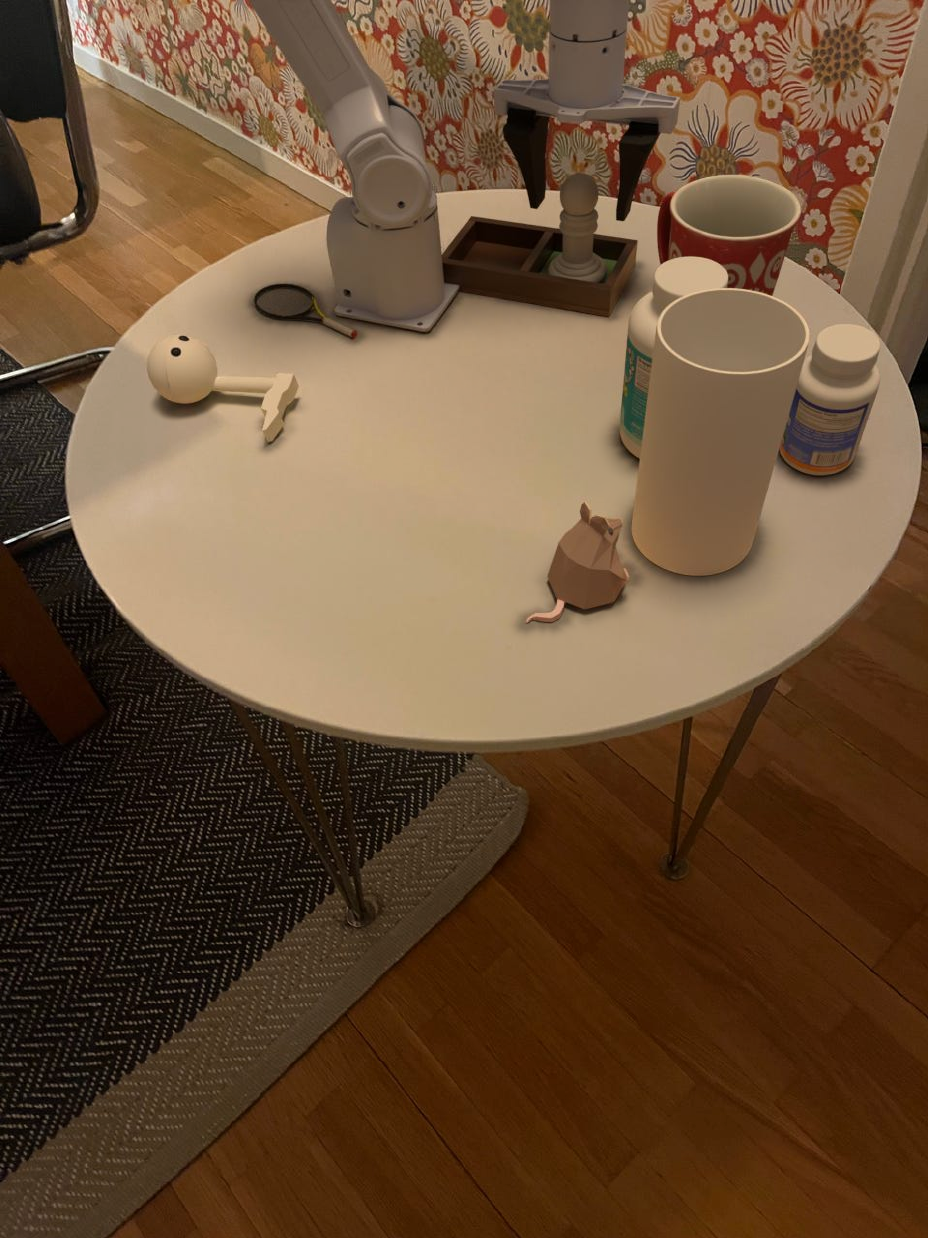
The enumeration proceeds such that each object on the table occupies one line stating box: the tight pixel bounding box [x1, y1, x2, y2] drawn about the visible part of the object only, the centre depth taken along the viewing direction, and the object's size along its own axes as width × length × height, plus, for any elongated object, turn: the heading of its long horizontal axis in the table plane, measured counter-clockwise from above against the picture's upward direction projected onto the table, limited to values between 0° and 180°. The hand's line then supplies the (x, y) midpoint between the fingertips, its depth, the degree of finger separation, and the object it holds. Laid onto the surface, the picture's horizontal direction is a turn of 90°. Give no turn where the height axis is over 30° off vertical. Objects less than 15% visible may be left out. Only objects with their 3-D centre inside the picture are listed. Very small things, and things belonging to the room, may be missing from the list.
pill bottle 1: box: [619, 257, 728, 459], centre depth 62 cm, size 8×7×14 cm
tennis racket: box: [253, 283, 358, 339], centre depth 81 cm, size 12×1×5 cm
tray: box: [442, 215, 639, 317], centre depth 81 cm, size 9×16×3 cm, turn 68°
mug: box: [656, 174, 802, 297], centre depth 68 cm, size 13×9×14 cm
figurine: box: [146, 333, 300, 443], centre depth 71 cm, size 8×6×12 cm
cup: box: [631, 288, 810, 577], centre depth 55 cm, size 8×8×16 cm
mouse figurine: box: [525, 501, 630, 624], centre depth 56 cm, size 5×8×7 cm, turn 127°
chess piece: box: [548, 172, 607, 283], centre depth 77 cm, size 5×5×9 cm
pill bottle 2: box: [779, 323, 881, 476], centre depth 61 cm, size 5×5×10 cm
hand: (579, 209), depth 76 cm, fingers open, 7 cm apart
